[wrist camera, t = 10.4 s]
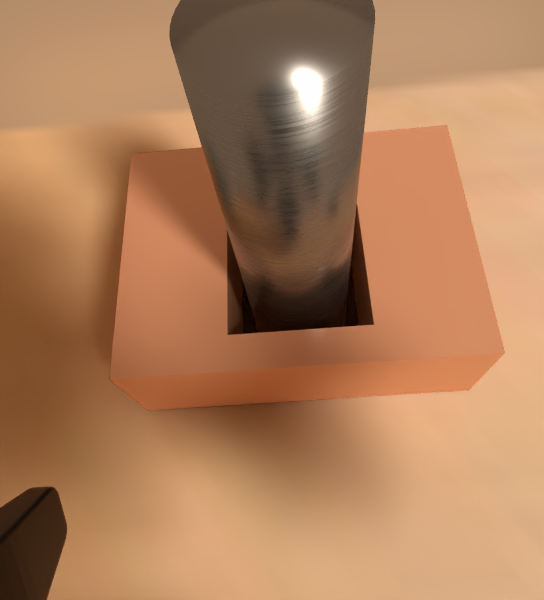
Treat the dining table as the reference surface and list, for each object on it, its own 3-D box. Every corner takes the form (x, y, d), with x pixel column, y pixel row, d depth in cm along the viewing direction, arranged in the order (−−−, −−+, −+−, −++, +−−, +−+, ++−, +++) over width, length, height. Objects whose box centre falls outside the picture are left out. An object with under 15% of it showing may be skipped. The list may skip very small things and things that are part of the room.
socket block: (469, 389, 19) (504, 352, 15) (147, 410, 20) (109, 379, 16) (426, 191, 23) (446, 125, 19) (160, 214, 23) (131, 153, 20)
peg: (334, 366, 20) (351, 107, 8) (244, 346, 20) (139, 80, 9) (353, 285, 21) (392, -37, 9) (268, 268, 22) (206, -52, 10)
